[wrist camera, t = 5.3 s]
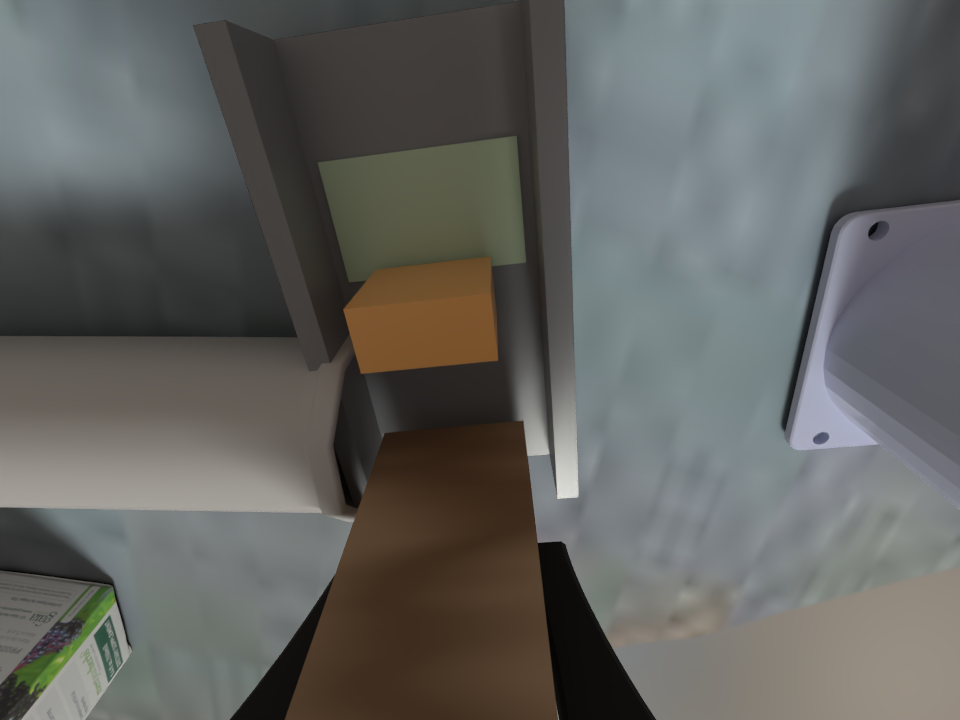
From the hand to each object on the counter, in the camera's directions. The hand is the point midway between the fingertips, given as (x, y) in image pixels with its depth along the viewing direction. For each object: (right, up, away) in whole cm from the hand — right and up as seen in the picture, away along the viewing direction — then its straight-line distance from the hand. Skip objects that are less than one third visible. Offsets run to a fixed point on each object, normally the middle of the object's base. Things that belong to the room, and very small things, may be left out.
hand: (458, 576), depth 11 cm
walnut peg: (0, +2, +3) cm, 3 cm away
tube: (-15, +5, +5) cm, 17 cm away
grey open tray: (-1, +8, +2) cm, 8 cm away
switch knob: (-1, +7, +1) cm, 7 cm away
